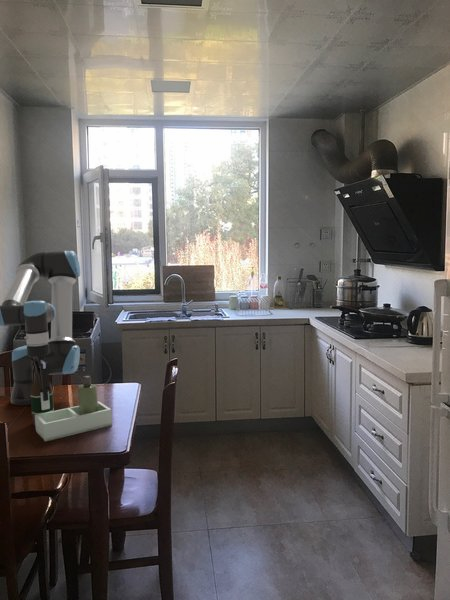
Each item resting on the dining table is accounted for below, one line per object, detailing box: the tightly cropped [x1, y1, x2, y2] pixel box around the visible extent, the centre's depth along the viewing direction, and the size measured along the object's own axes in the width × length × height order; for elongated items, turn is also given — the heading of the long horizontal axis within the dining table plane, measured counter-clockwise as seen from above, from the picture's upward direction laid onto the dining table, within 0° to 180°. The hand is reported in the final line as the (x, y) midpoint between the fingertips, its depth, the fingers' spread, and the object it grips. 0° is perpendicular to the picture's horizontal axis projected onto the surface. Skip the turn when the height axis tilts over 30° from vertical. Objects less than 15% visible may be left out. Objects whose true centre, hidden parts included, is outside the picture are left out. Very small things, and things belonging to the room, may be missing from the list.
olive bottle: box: [77, 375, 99, 415], centre depth 175 cm, size 6×6×17 cm
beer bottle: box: [30, 358, 55, 426], centre depth 178 cm, size 8×8×24 cm
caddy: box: [34, 401, 113, 442], centre depth 172 cm, size 12×23×6 cm, turn 125°
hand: (42, 406), depth 179 cm, fingers open, 8 cm apart
